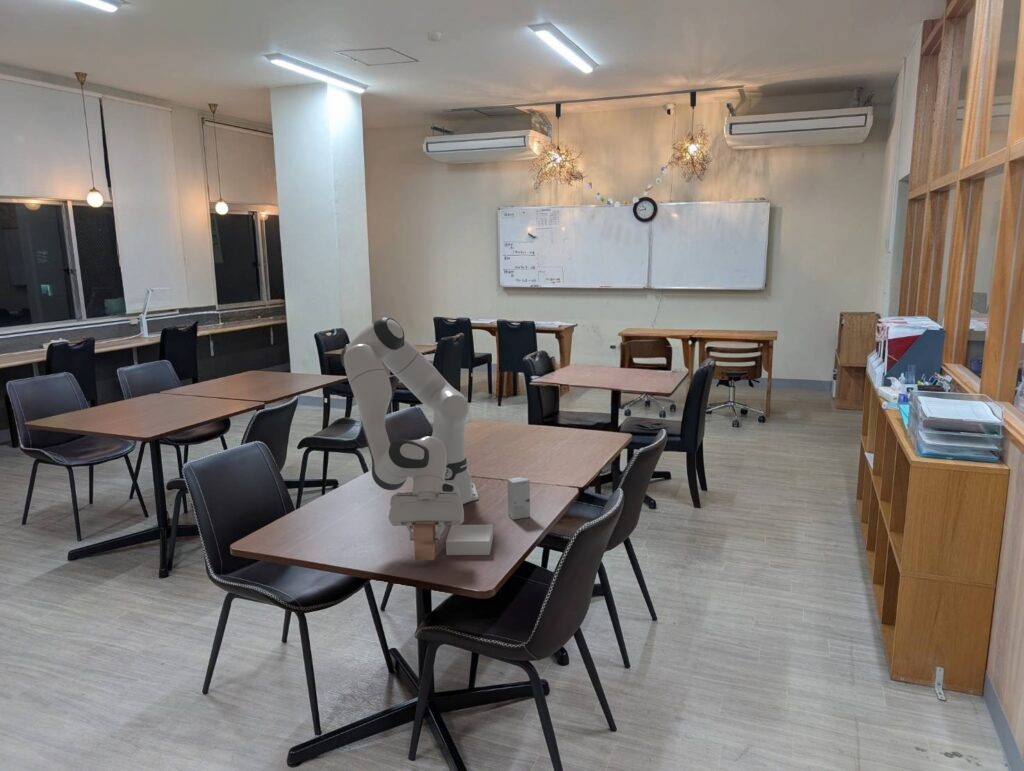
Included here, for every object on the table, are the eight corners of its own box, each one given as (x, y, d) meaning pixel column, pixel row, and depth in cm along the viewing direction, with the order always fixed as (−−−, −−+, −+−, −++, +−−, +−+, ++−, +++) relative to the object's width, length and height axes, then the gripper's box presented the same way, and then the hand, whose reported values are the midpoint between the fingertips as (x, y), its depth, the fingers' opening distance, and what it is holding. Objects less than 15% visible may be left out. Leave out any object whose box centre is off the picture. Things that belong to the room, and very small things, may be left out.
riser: (452, 537, 204) (451, 524, 203) (493, 537, 204) (492, 524, 203) (446, 555, 192) (445, 541, 192) (489, 554, 192) (489, 541, 191)
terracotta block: (418, 552, 189) (416, 520, 187) (436, 551, 189) (434, 520, 187) (415, 560, 184) (413, 528, 182) (434, 559, 184) (432, 527, 182)
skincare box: (513, 520, 217) (512, 482, 214) (507, 515, 221) (506, 478, 218) (531, 516, 219) (530, 479, 217) (525, 512, 223) (524, 476, 221)
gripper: (389, 487, 191) (383, 535, 183) (463, 486, 190) (460, 534, 182) (393, 497, 196) (388, 544, 188) (465, 496, 195) (463, 543, 187)
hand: (424, 539), depth 185 cm, fingers closed on terracotta block, 5 cm apart
